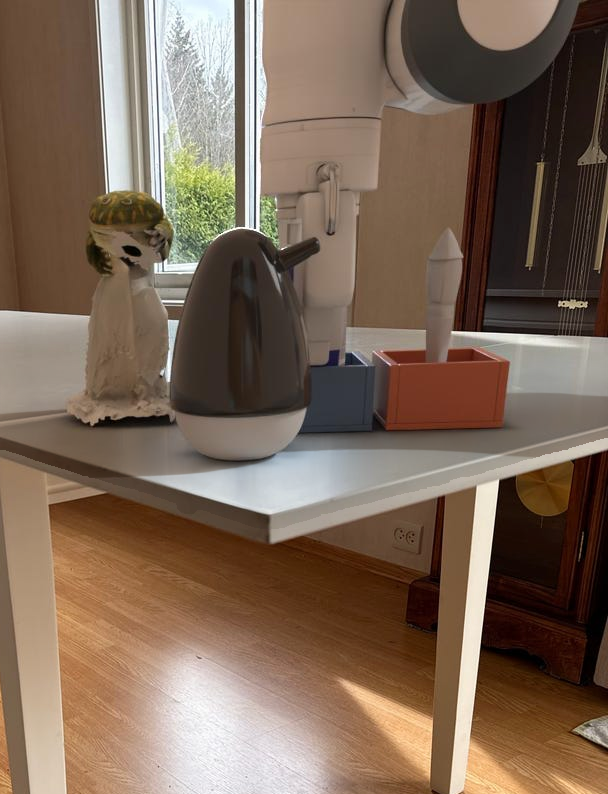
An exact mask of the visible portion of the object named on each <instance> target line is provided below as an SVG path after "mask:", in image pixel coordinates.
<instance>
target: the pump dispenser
mask: <svg viewBox="0 0 608 794" xmlns="http://www.w3.org/2000/svg"><path fill="white" fill-rule="evenodd" d="M320 248H321V247H320V243H319V240H318V239H317V238H316V237H312V238H309V239H307V240H304V241H302V242H299V243H297V244H294V245H292V246H289V247H286V248H284V249H281V250H280V249H278V247H277V245H276V244H275V243H274V241H272V240H271V238H270V237H268V236H267V235H265V233H263V232H261V231H259V230H257V229H253V228H249V227H236V228H232V229H229V230H226V231H224V232H223V233H222V232H221V234H219V235H218V236H216V237H215V238H214V239H213V240H212V241H211V242H210V243H209V244H208V245H207V247H206V248H205V250H204V252H203V253H202V255H201V257H200V259H199V261H198V263H197V266H196V268H195V269H194V272H193V275H192V277H191V280H190V283H189V286H188V288H187V291H186V294H185V298H184V301H183V304H182V308H181V311H180V314H179V319H178V324H177V328H176V332H175V337H174V341H173V342H174V343H173V344H174V345H173V349H172V356H171V357H172V358H171V366H170V377H169V382H170V388H169V400H170V407H171V409H172V410H174V411H175V416H174V417H175V420H176V423H177V426H178V429H179V431H180V433H181V435H182V437H183V438H184V440H185V441H186V442H187V443H188V445H190V446H191V447H192V448H193V450H195V451H197V452H198V453H200V454H202V455H203V456H206V457H208V458H211V459H215V460H221V461H234V462H235V461H239V462H240V461H253V460H259V459H260V460H261V459H266V458H268V457H271V456H273V455H275V454H277V453H279V452H281V451H282V450H284V449H285V448H286V447H288V445H290V443H292V442H293V440H294V439H295V438H296V437H297V435H298V434H299V433H298V432H299V430H300V428H301V426H302V423H303V420H304V417H305V413H306V408H307V407H308V406H309V405H310V404H311V402H312V375H311V363H310V354H309V345H308V339H307V333H306V328H305V323H304V319H303V314H302V310H301V307H300V303H299V300H298V296H297V293H296V290H295V287H294V285H293V282H292V280H291V277H290V274H289V269H291V268H293V267H294V266H296V265H298V264H300V263H301V262H303V261H305V260H307V259H308V258H310V257H311V256H312V255H314V254H317V253H319V251H320Z"/></svg>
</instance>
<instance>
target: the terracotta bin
mask: <svg viewBox="0 0 608 794" xmlns="http://www.w3.org/2000/svg"><path fill="white" fill-rule="evenodd" d="M371 362H372V363H373V364H374V365H375V366H376V371H375V387H374V402H373V417H374V418H375V419H376V420H377V421H378V423H380V425H381V426H382V428H383V429H384V430H385V431H413V430H414V431H416V430H417V431H418V430H448V429H449V430H451V429H452V430H453V429H488V428H489V429H491V428H493V429H495V428H502V427H503V424H504V423H503V422H504V415H505V414H504V413H505V407H506V397H507V390H508V382H509V373H510V365H511V361H510V360H508V359H505V358H503V357H501V356H500V355H497V354H495V353H492V352H491V351H489V350H486V349H484V348H481V347H479V346H476V347H475V346H474V347H450V348H448V354H447V360H446V362H438V363H426V348H417V349H390V350H388V349H387V350H373V351H372V355H371Z"/></svg>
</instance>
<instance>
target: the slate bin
mask: <svg viewBox="0 0 608 794" xmlns="http://www.w3.org/2000/svg"><path fill="white" fill-rule="evenodd" d="M375 371H376V366H375V365H374V364H373V363H372V361H371V360H369V359H368V357H366V356H365V355H364V354H363V353H361V351H345V366H320V367H311V375H312V402H311V404H310V405H309V406H308V407H307V408H306V413H305V417H304V420H303V423H302V426H301V428H300V430H299V432H298V433H297V434H302V433H303V434H306V433H308V434H309V433H339V432H340V433H343V432H371V431H373V417H374V415H373V402H374V387H375Z"/></svg>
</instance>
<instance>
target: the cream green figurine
mask: <svg viewBox="0 0 608 794" xmlns="http://www.w3.org/2000/svg"><path fill="white" fill-rule="evenodd" d="M87 203H89V201H88V200H87ZM170 220H172V221H174V220H175V218H174V217H171V218H170ZM170 220H169V219H168V217H167V215H166V214H165V210H164V207H163V206H162V204H161V203H160V202H158V201H157V200H156V199H155V198H154V197H152V196H151V195H150V194H148V193H146V192H144V191H139V190H132V189H131V190H128V189H126V190H114V191H110V192H108V193H106V194H103V195H100V196H98V197H97V198H95V199H94V200H93V201H92V202H91V204H90V209H89V213H88V221H89V229H88V231H87V238H86V241H85V255H86V260H87V262H88V264H89V265H90V267H91V268H92V269H93V270H95V272H96V273H97V274H99V275H101V277H100V279H99V281H98V282H97V286H96V288H95V291H94V294H93V296H92V298H90V300H91V301H92V305H91V306H92V307H91V310H90V315H89V316H90V317H89V320H88V325H87V332H88V338H87V340H88V342H87V343H86V346H87V348H86V349H84V351H86V352H85V355H86V358H85V361H86V364H85V369H84V371H85V379H84V380H85V381H86V382H85V388H84V390H81V391H80V392H79V393H77V394H76V395H69V396H67V397H66V402H65V403H66V404H65V405H66V412H67V414H70V415H71V416H72V415H74V416H75V418H76V419H77V420H81V421H82V422H83V423H84V424H87V423H89V424H90V427H93V426H94V425H95V424H98V423H99V419H100V420H101V421H104V420H105V417H110V420H112V421H113V420H114V421H117V420H121V419H123V418H126V417H135V418H142V417H145V418H148V417H151V416H155V417H160V416H165V415H168V416H169V420H170V423H172V422H173V421H174V420H176V416H175V411H174V410H172V409H171V407H170V400H169V388H170V381H167V376H166V372H167V371H166V370H167V365H168V359H169V351H170V350H171V348H170V329H169V328H170V327H169V315H168V314H169V313H168V310H167V309H166V307H165V305H164V303H163V300H162V299H161V297H160V295H159V292H158V291H157V290H156V287H155V285H154V284H156V285H157V286H158V285H159V282H154V283H153V281H152V279H151V277H150V275H149V271H148V270H149V268H150V267H151V266H152V265H153V264H161V263H163V262H165V261H166V260H168V259H169V257H170V254H171V253H170V252H171V249H172V245H173V240H174V227H173V225H172V223H174V222H172V223H171V222H170ZM107 254H108V255H109V256H107V257H106V255H107ZM163 288H164V289H165V288H166V285H163ZM159 290H160V291H161V290H162V288H159ZM167 291H168V292H170V290H169V289H167ZM171 339H174V337H173V336H172V337H171ZM162 371H163V373H162ZM161 373H162V374H161Z"/></svg>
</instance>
